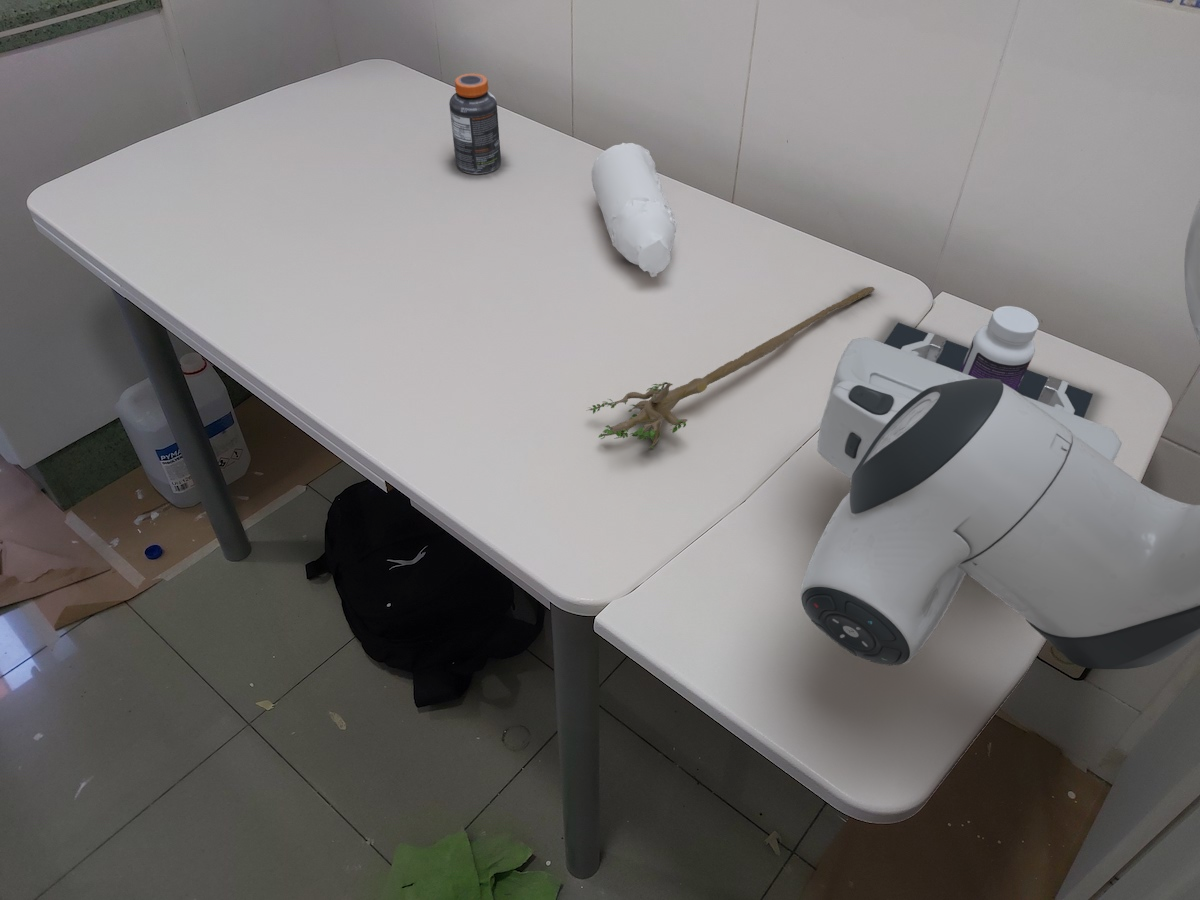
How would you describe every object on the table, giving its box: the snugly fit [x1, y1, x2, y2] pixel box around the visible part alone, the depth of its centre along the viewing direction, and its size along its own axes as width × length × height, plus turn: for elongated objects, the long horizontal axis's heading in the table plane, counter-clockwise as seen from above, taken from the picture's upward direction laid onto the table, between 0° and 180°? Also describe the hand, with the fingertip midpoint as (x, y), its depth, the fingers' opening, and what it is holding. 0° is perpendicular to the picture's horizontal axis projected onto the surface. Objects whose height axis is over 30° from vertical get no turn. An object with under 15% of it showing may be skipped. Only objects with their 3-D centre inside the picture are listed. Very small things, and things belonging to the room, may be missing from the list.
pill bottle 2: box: [960, 305, 1040, 391], centre depth 82 cm, size 5×5×10 cm
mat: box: [883, 321, 1094, 418], centre depth 86 cm, size 20×14×1 cm
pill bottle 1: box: [448, 72, 502, 175], centre depth 112 cm, size 6×6×11 cm
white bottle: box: [591, 141, 678, 278], centre depth 101 cm, size 8×19×8 cm, turn 9°
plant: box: [585, 286, 876, 451], centre depth 85 cm, size 39×8×8 cm, turn 125°
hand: (994, 363), depth 70 cm, fingers open, 8 cm apart
